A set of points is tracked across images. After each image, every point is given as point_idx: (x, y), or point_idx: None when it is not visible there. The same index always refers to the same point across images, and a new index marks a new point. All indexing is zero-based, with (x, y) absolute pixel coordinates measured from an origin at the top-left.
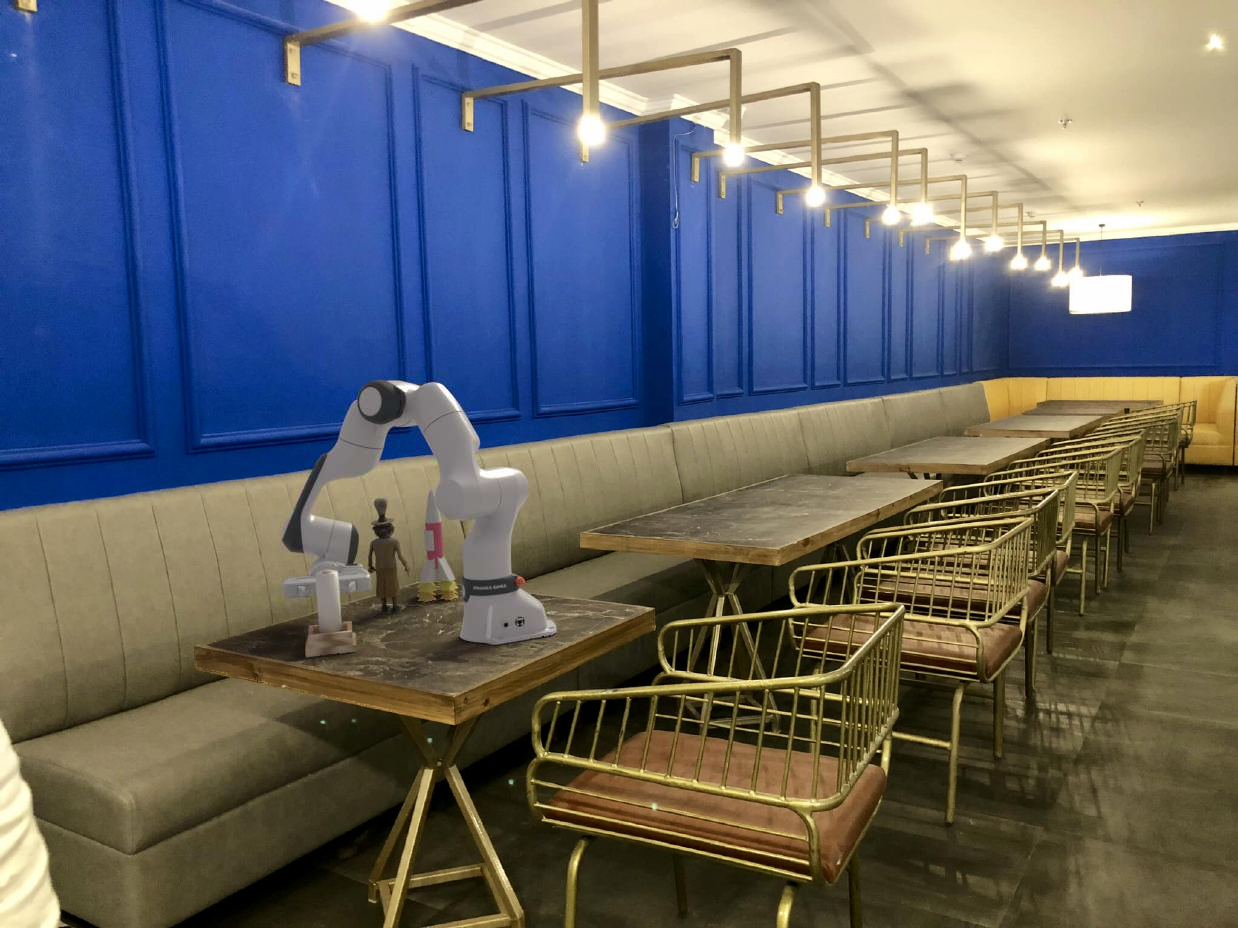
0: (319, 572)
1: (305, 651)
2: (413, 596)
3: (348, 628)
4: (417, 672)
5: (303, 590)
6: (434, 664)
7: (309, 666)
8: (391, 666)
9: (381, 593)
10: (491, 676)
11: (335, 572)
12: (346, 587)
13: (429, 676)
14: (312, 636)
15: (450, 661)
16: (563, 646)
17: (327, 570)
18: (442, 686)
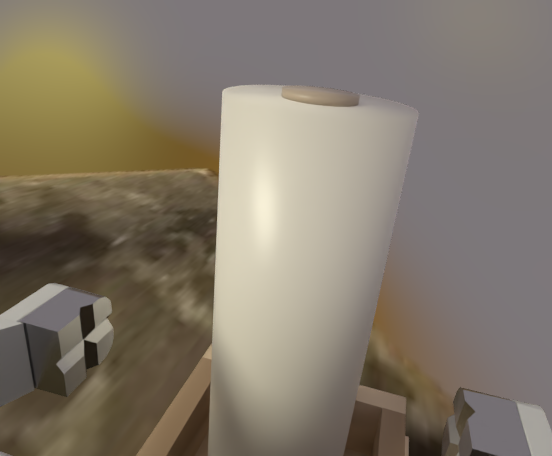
0: (379, 112)
1: (407, 440)
2: None
3: (198, 391)
4: (183, 221)
5: (527, 405)
6: (127, 229)
7: (390, 359)
8: (201, 258)
9: None
10: (114, 175)
11: (259, 88)
12: (97, 297)
13: (181, 206)
14: (384, 394)
15: (90, 225)
16: None
17: (291, 112)
18: (195, 184)
